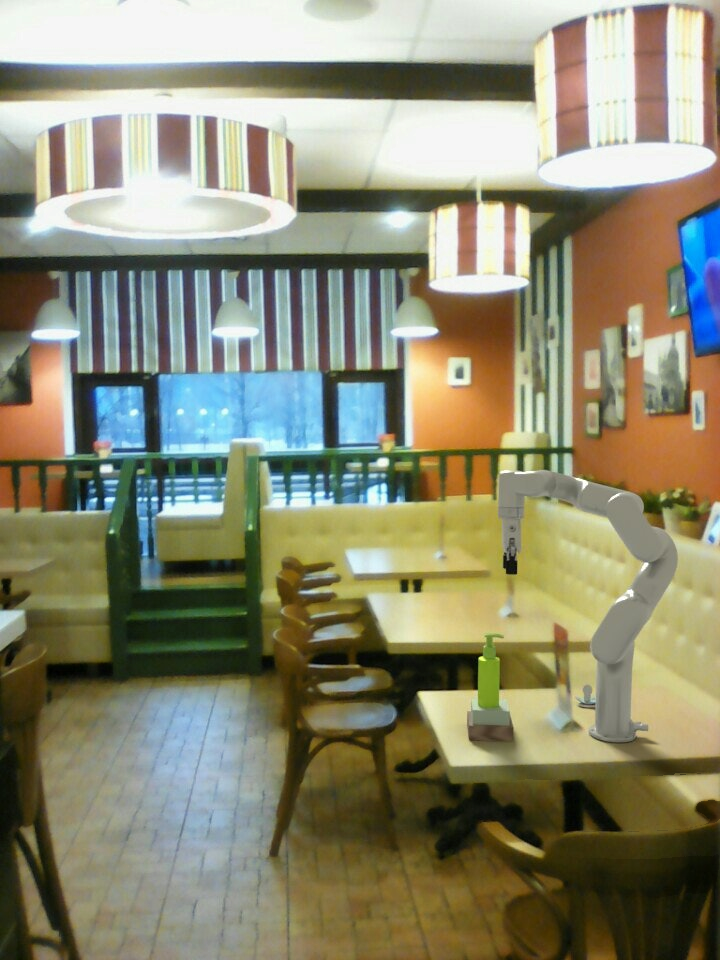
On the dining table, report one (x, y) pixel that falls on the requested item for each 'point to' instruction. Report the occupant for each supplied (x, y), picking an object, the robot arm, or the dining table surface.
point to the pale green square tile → (490, 714)
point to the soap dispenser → (489, 674)
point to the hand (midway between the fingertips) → (509, 571)
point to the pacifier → (587, 698)
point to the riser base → (489, 731)
